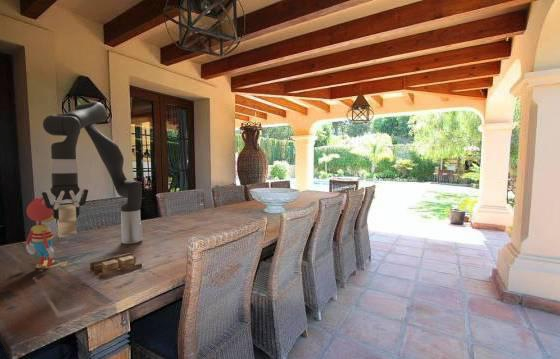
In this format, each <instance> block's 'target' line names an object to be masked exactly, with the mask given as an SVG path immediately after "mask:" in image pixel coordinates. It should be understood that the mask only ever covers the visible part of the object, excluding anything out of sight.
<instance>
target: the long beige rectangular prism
mask: <svg viewBox="0 0 560 359" xmlns="http://www.w3.org/2000/svg"><path fill="white" fill-rule="evenodd" d="M58 210H59V220H56V224H57V225H56V226H57V236H58V237H59V238H64V237H68V236H69V237H70V236H71V237H72V236H76V235H78V232H77V229H78V227H77V217H76V205H74V204H73V203H72V204H63V205H62V204H61V205H60V204H59V207H58Z"/></svg>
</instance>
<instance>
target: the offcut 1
mask: <svg viewBox="0 0 560 359" xmlns="http://www.w3.org/2000/svg"><path fill="white" fill-rule="evenodd" d="M115 269H119V265H118V261H116V260H115V259H114V260H110V261H106V262H102V273H104V272H108V271H112V270H115Z"/></svg>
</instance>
